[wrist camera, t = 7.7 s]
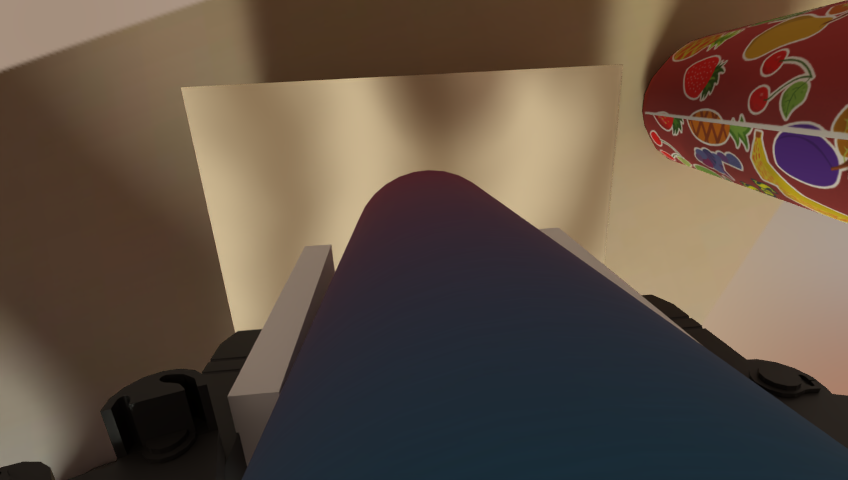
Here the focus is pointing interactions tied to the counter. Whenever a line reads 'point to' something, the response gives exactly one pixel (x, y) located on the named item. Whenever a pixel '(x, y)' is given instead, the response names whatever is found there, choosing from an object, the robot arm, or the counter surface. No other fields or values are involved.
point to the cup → (510, 366)
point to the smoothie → (762, 108)
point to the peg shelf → (393, 159)
